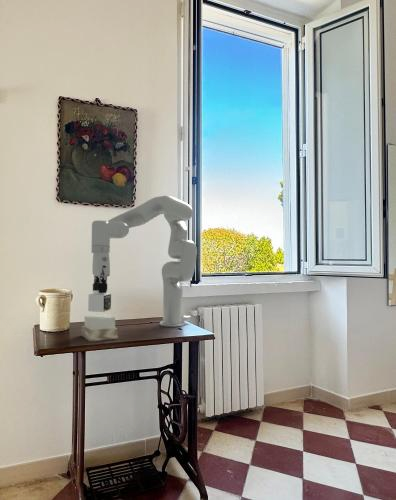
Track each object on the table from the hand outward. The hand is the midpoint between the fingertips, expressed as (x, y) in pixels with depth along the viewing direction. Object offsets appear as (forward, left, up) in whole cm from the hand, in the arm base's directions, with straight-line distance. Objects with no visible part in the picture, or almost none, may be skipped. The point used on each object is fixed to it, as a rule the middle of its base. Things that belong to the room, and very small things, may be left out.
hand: (100, 291), depth 164 cm
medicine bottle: (0, 0, -8) cm, 8 cm away
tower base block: (0, 0, -20) cm, 20 cm away
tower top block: (0, 0, -15) cm, 15 cm away
